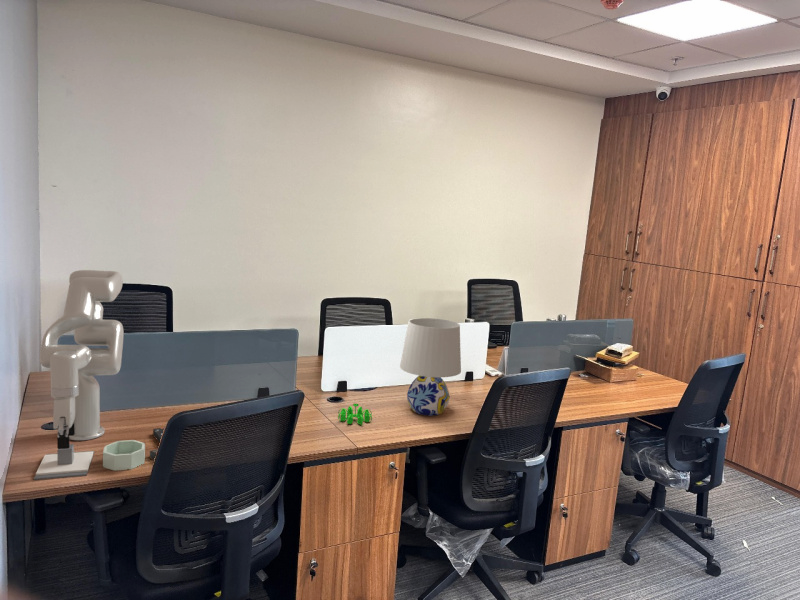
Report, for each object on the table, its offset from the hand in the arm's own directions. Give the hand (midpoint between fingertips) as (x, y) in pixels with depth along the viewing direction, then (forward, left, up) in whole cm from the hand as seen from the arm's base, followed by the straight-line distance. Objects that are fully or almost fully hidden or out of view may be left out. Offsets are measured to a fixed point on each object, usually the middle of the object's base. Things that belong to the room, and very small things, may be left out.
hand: (66, 441), depth 187 cm
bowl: (+2, +17, -8) cm, 19 cm away
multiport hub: (+3, +29, -8) cm, 30 cm away
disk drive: (-15, +32, -8) cm, 36 cm away
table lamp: (-29, +138, -8) cm, 141 cm away
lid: (+1, 0, -7) cm, 7 cm away
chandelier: (-23, +102, -8) cm, 105 cm away
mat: (+1, 0, -8) cm, 8 cm away
